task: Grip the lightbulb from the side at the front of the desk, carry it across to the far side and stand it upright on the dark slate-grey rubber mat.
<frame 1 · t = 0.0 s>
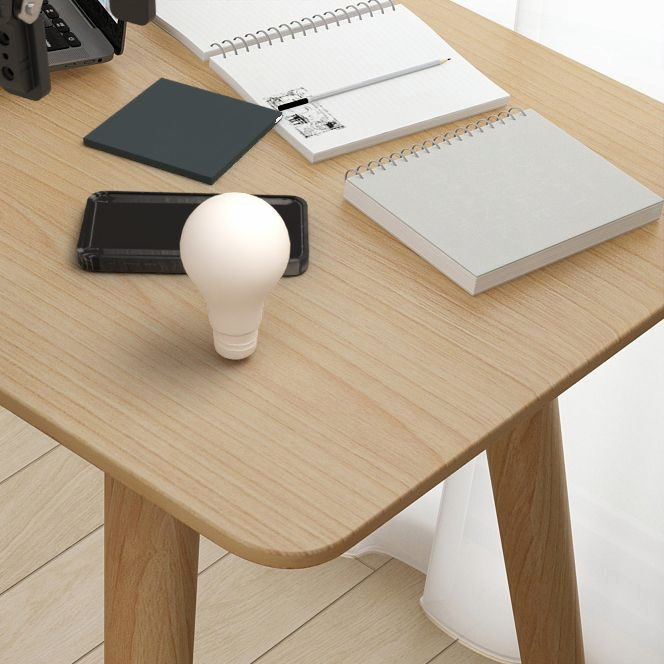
hand: (82, 55, 55), 21 cm above the table, tool pointing down, fingers open, 8 cm apart
mat: (185, 131, 91), on the table
phone: (196, 241, 81), on the table
lightbulb: (235, 357, 72), on the table
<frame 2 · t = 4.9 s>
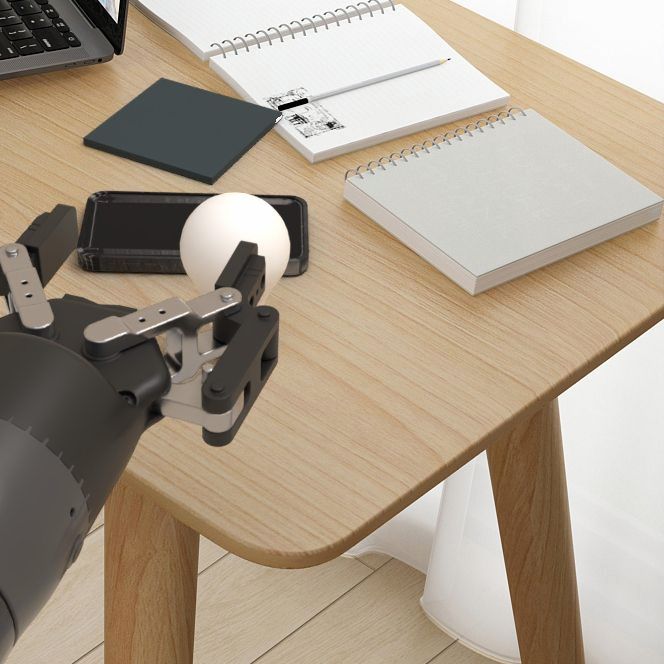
hand: (158, 239, 53), 16 cm above the table, tool horizontal, fingers open, 8 cm apart
nothing on the table moved.
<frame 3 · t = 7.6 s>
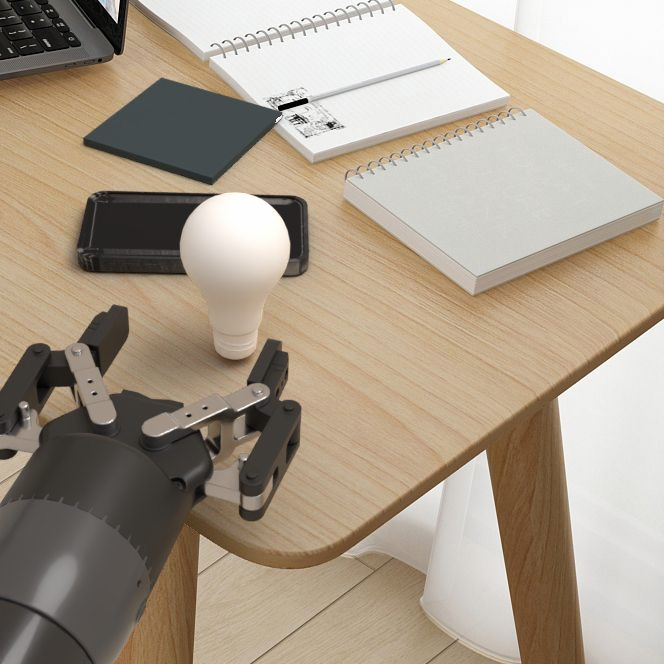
hand: (197, 334, 63), 6 cm above the table, tool horizontal, fingers open, 8 cm apart
nothing on the table moved.
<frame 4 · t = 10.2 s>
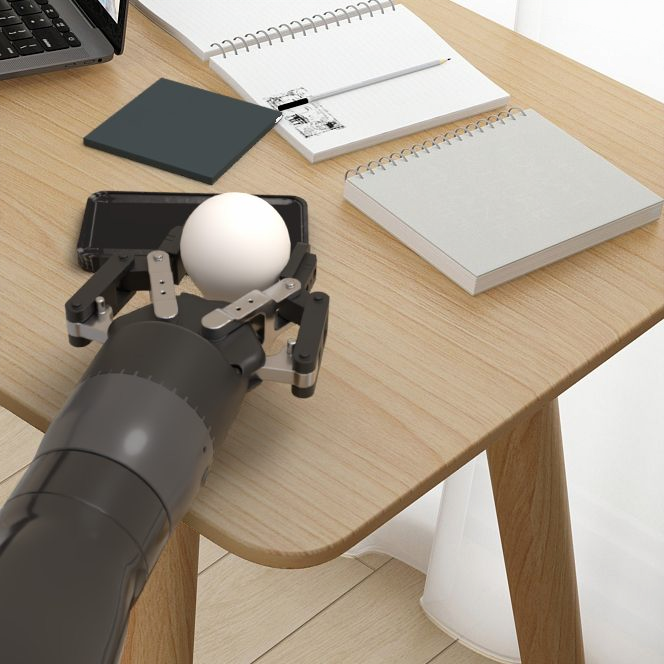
hand: (248, 244, 69), 7 cm above the table, tool horizontal, fingers closed on lightbulb, 6 cm apart
lightbulb: (235, 357, 72), on the table, touching gripper
everything else where it was.
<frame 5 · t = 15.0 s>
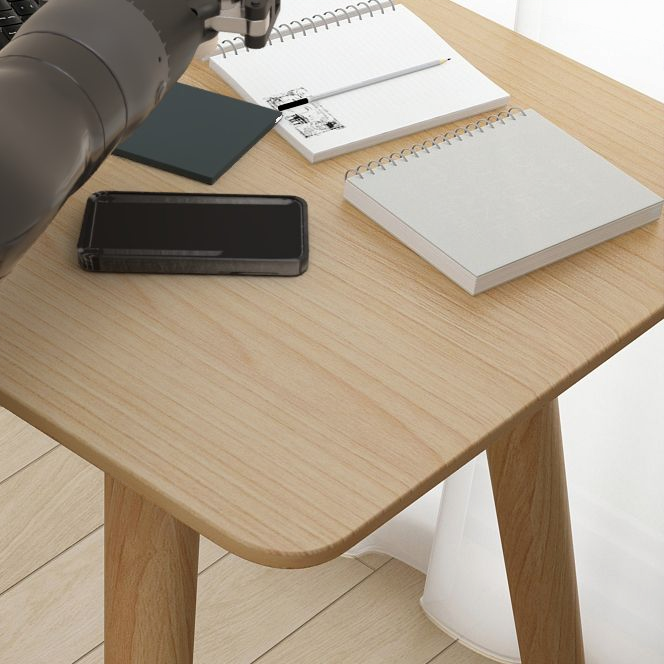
lightbulb: (198, 60, 77), point 11 cm above the table, touching gripper
everything else where it was.
when the fingers open (7 cm above the table, at t = 19.8 s): lightbulb stays where it is, resting on mat.
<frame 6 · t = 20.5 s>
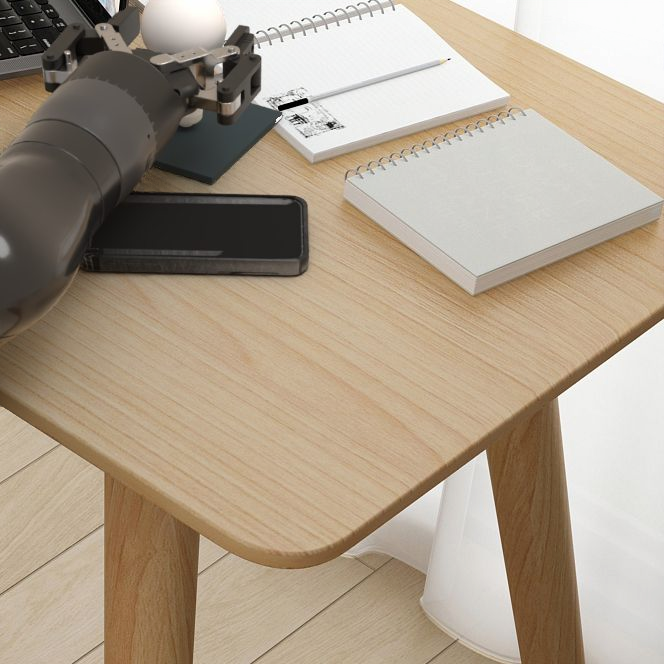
hand: (189, 27, 88), 8 cm above the table, tool horizontal, fingers open, 8 cm apart
lightbulb: (186, 127, 91), resting on mat
everything else where it was.
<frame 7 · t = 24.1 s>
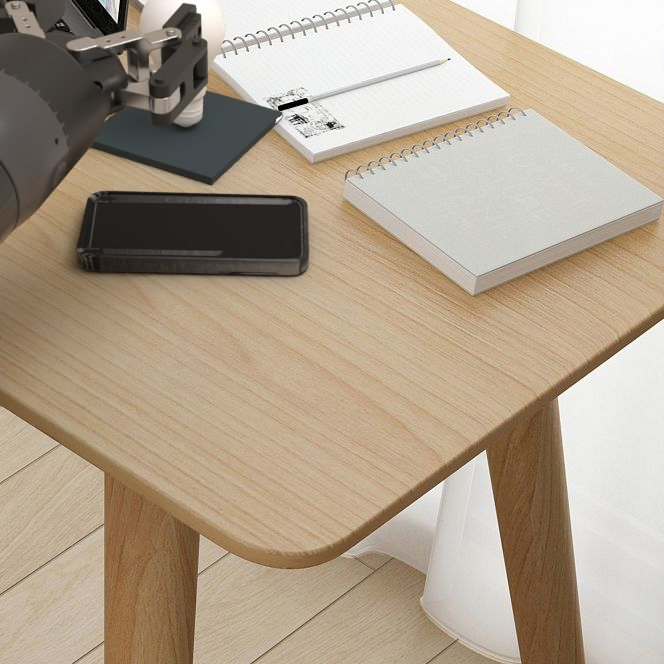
hand: (124, 6, 72), 16 cm above the table, tool horizontal, fingers open, 8 cm apart
nothing on the table moved.
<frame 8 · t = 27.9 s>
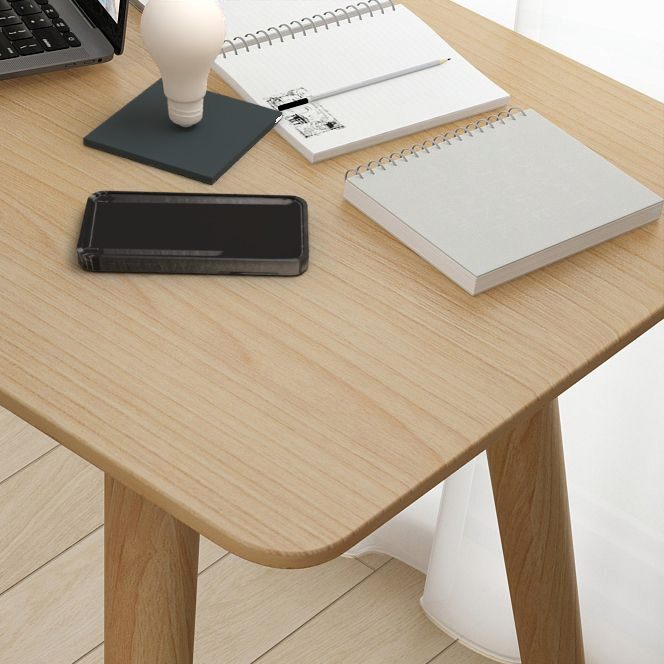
nothing on the table moved.
at the end: lightbulb inside the target area on the mat (0.1 cm from its centre), point 0.4 cm above the mat's base; lightbulb tilted 0°; the gripper is holding nothing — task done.
